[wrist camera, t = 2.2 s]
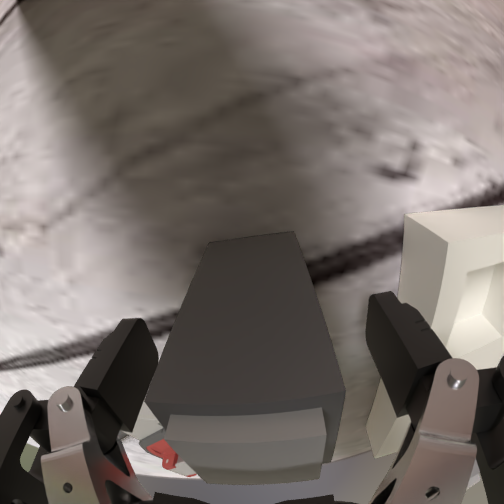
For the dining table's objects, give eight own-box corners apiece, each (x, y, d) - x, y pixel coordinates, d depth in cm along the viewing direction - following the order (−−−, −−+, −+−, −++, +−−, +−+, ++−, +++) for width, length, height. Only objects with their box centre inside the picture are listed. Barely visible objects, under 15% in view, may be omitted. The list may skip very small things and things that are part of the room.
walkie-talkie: (199, 339, 14) (101, 427, 21) (183, 402, 10) (89, 458, 16) (306, 398, 16) (170, 461, 23) (314, 452, 12) (164, 491, 19)
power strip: (404, 213, 11) (578, 364, 1) (504, 205, 10) (626, 284, 1) (365, 426, 18) (388, 525, 8) (442, 400, 17) (477, 483, 8)
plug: (209, 242, 12) (135, 426, 4) (293, 231, 11) (353, 418, 3) (225, 311, 13) (197, 485, 5) (300, 302, 13) (333, 480, 5)
